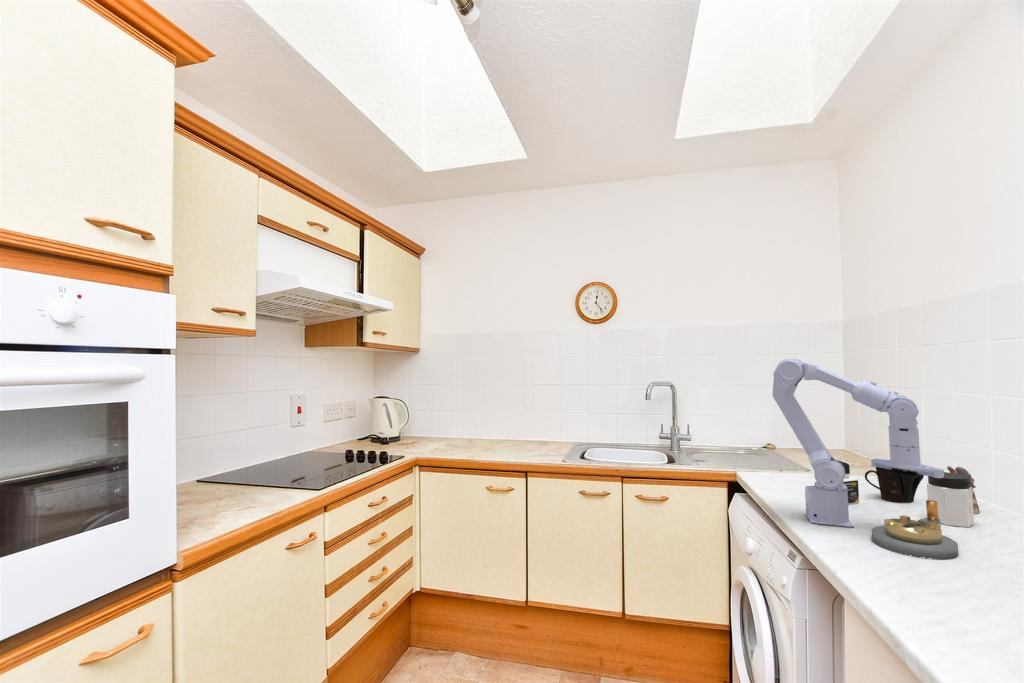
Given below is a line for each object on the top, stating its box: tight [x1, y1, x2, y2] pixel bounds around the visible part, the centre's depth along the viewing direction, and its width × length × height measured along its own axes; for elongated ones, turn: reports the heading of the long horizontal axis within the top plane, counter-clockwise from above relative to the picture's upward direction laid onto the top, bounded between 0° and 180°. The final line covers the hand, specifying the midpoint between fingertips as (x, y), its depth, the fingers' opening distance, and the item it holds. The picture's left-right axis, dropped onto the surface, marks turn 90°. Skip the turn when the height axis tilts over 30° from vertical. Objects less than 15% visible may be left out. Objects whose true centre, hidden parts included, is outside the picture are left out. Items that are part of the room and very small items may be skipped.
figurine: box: [946, 465, 981, 515], centre depth 132 cm, size 7×7×12 cm
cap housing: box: [870, 525, 959, 560], centre depth 107 cm, size 15×15×2 cm
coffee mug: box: [864, 467, 907, 504], centre depth 143 cm, size 12×9×10 cm
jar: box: [926, 471, 975, 528], centre depth 123 cm, size 9×8×12 cm
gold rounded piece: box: [883, 499, 943, 545], centre depth 108 cm, size 14×10×7 cm
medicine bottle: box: [836, 459, 860, 505], centre depth 142 cm, size 7×7×12 cm
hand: (907, 501), depth 115 cm, fingers closed
